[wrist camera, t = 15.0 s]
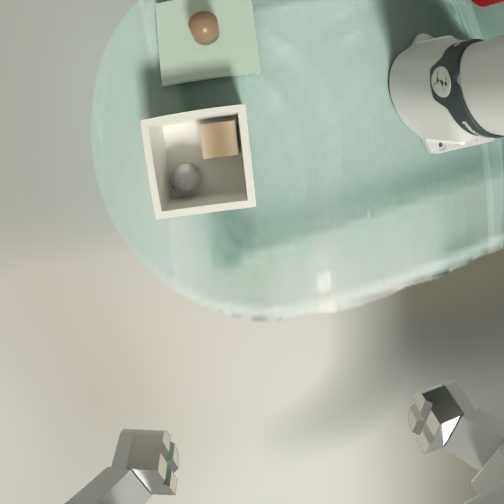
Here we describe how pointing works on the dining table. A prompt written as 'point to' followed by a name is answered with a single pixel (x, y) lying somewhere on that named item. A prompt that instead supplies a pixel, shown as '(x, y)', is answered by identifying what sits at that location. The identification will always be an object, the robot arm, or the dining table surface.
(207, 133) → the birch block
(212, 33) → the lid
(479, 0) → the beverage can
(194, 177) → the metal ball
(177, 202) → the tub
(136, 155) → the dining table surface
